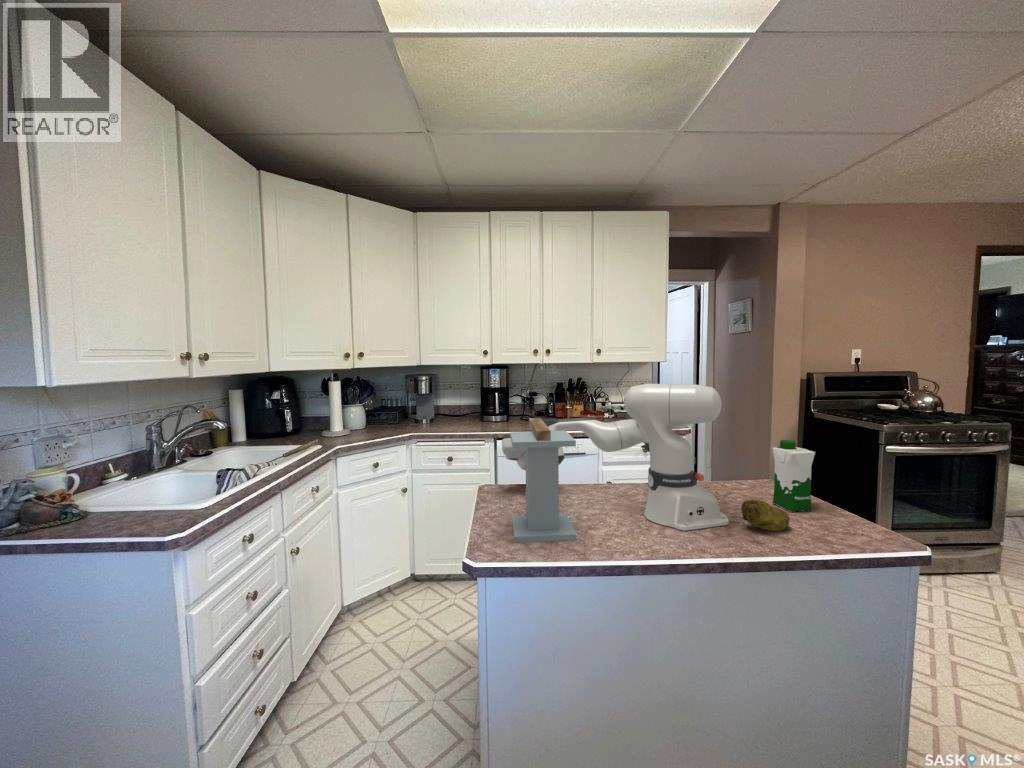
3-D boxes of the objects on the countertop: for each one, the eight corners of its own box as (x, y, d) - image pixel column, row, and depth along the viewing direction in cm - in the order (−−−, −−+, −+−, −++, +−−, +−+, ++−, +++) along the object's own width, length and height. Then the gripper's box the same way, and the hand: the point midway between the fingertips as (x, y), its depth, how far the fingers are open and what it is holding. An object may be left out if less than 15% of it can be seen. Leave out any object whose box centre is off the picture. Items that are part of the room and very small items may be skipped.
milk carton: (792, 501, 128) (793, 439, 127) (817, 511, 119) (819, 445, 118) (767, 503, 127) (769, 440, 125) (791, 514, 118) (793, 446, 116)
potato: (801, 537, 103) (801, 506, 102) (747, 534, 105) (747, 504, 104) (783, 523, 111) (784, 495, 111) (734, 521, 113) (734, 494, 112)
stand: (566, 518, 117) (565, 430, 116) (576, 540, 103) (575, 440, 102) (512, 520, 117) (510, 432, 115) (514, 542, 103) (512, 442, 101)
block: (540, 425, 124) (540, 417, 124) (550, 440, 102) (550, 430, 102) (529, 426, 124) (529, 418, 124) (537, 440, 102) (536, 431, 102)
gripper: (559, 457, 143) (565, 446, 131) (502, 459, 142) (502, 448, 130) (557, 441, 146) (563, 427, 134) (501, 442, 145) (501, 429, 133)
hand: (532, 437), depth 132 cm, fingers open, 8 cm apart
